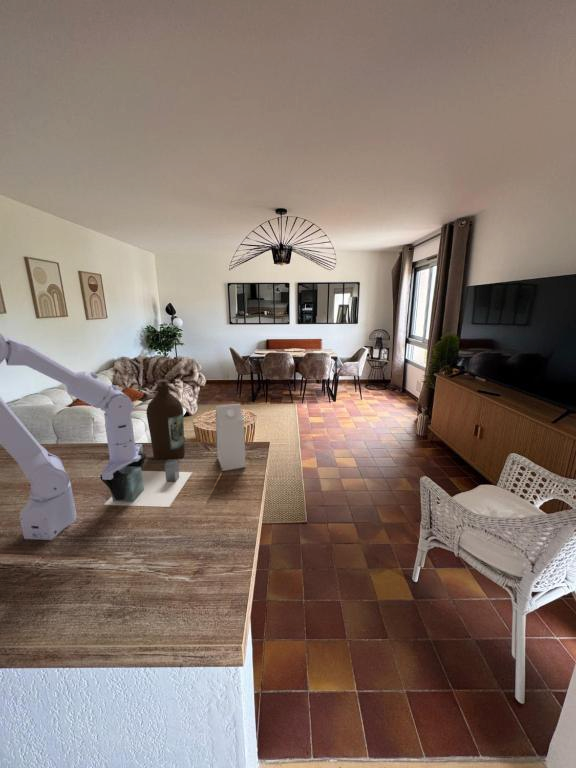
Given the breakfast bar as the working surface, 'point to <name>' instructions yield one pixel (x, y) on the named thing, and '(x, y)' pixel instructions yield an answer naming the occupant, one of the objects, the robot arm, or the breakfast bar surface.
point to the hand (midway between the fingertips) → (128, 490)
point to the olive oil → (166, 424)
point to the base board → (156, 490)
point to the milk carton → (230, 436)
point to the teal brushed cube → (132, 483)
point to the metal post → (171, 470)
